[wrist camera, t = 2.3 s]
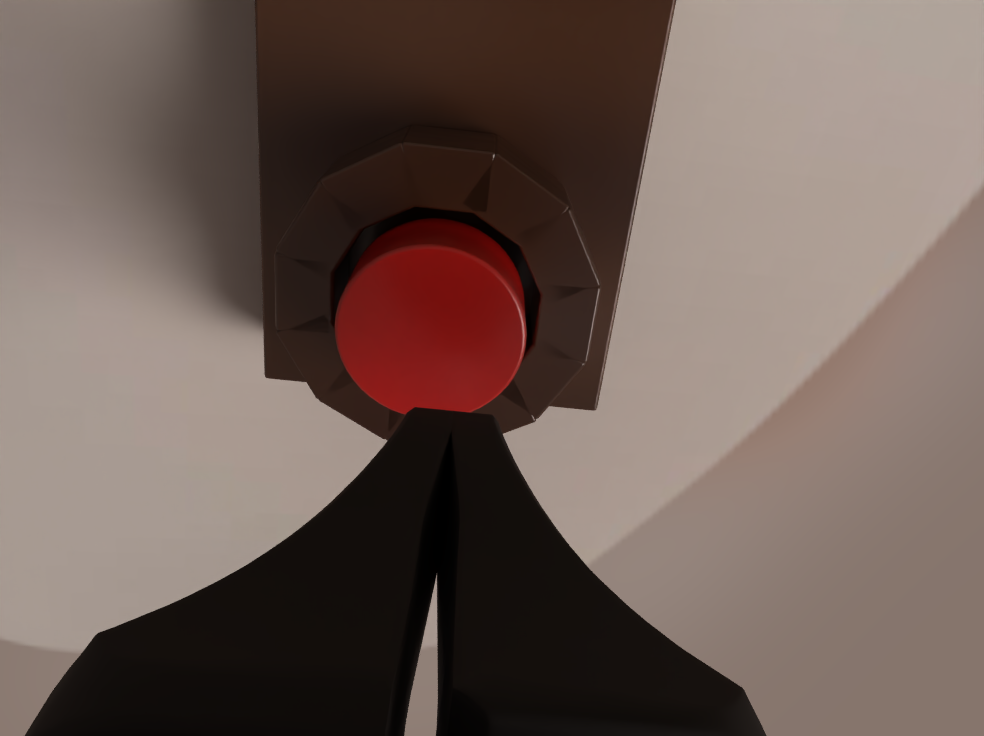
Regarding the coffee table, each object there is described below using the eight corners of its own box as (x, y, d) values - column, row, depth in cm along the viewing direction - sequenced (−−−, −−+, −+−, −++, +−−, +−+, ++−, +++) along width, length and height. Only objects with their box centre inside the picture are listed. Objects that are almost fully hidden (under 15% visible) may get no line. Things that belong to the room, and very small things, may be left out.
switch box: (586, 378, 21) (603, 462, 17) (286, 348, 21) (241, 427, 17) (665, -53, 16) (711, -59, 13) (280, -100, 16) (218, -120, 13)
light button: (513, 387, 17) (514, 429, 16) (347, 370, 17) (332, 411, 15) (535, 227, 15) (538, 256, 14) (352, 207, 15) (335, 234, 14)
